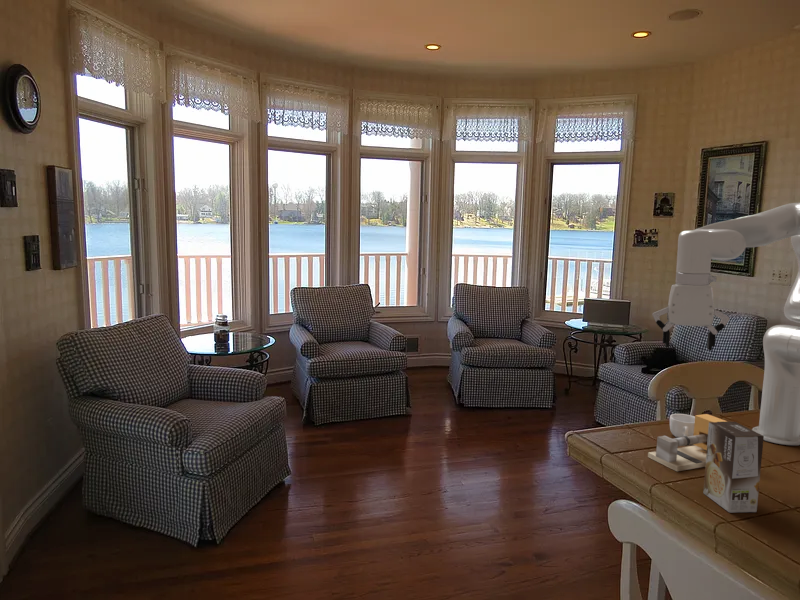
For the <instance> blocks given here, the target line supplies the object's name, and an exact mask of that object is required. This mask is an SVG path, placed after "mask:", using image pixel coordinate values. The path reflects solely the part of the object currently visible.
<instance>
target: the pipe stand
mask: <svg viewBox="0 0 800 600" xmlns="http://www.w3.org/2000/svg"><path fill="white" fill-rule="evenodd" d="M656 439H657V440H656V450H654V451H651V452H650V451H649V452H647V458H649V459H651V460H652V461H655V462H657V463H659V464H661V465H663V466H665V467H667V468H669V469H671V470H673V471H675V472H681V471H682V472H683V471H686V470H688V471H689V470H693V469H699V468H705V466H706V454H707V450H705V449H703V448H700V447H698V446H696V445H693V444H698V443H705V442H707V441H708V434H702V435H695V436H688V437H687V436H685V437H681V438H677V437H674V438H671V437H669V436H667V435H659V436H657V437H656Z"/></svg>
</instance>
